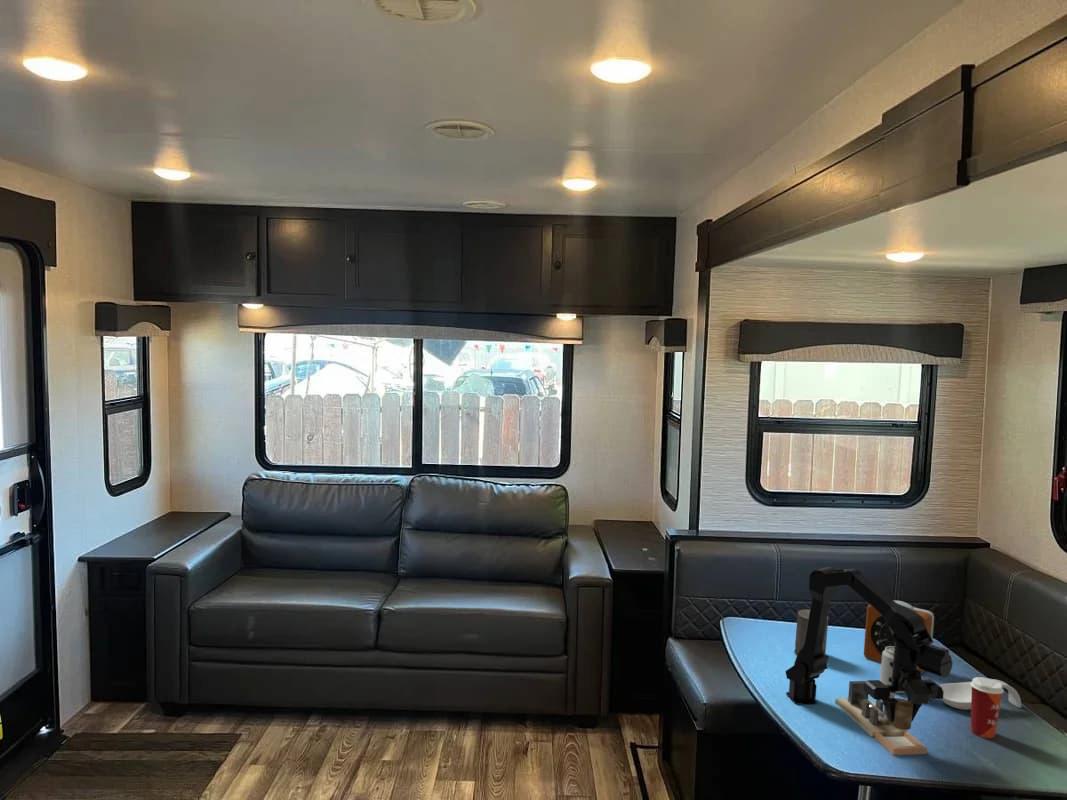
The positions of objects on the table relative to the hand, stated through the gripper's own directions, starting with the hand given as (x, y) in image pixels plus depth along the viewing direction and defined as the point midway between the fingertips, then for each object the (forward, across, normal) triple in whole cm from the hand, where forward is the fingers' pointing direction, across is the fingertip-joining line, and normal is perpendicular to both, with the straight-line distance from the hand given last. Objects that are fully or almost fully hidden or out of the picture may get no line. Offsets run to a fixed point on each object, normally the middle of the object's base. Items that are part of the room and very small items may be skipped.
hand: (900, 721), depth 200 cm
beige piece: (+6, 0, +14) cm, 15 cm away
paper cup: (+6, +27, +5) cm, 28 cm away
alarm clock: (+7, +30, +50) cm, 59 cm away
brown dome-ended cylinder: (+1, 0, 0) cm, 1 cm away
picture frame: (+6, 0, 0) cm, 6 cm away
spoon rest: (+7, +37, +21) cm, 43 cm away
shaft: (+5, 0, +14) cm, 15 cm away
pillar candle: (+7, +4, +57) cm, 57 cm away
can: (+7, +18, +32) cm, 37 cm away
